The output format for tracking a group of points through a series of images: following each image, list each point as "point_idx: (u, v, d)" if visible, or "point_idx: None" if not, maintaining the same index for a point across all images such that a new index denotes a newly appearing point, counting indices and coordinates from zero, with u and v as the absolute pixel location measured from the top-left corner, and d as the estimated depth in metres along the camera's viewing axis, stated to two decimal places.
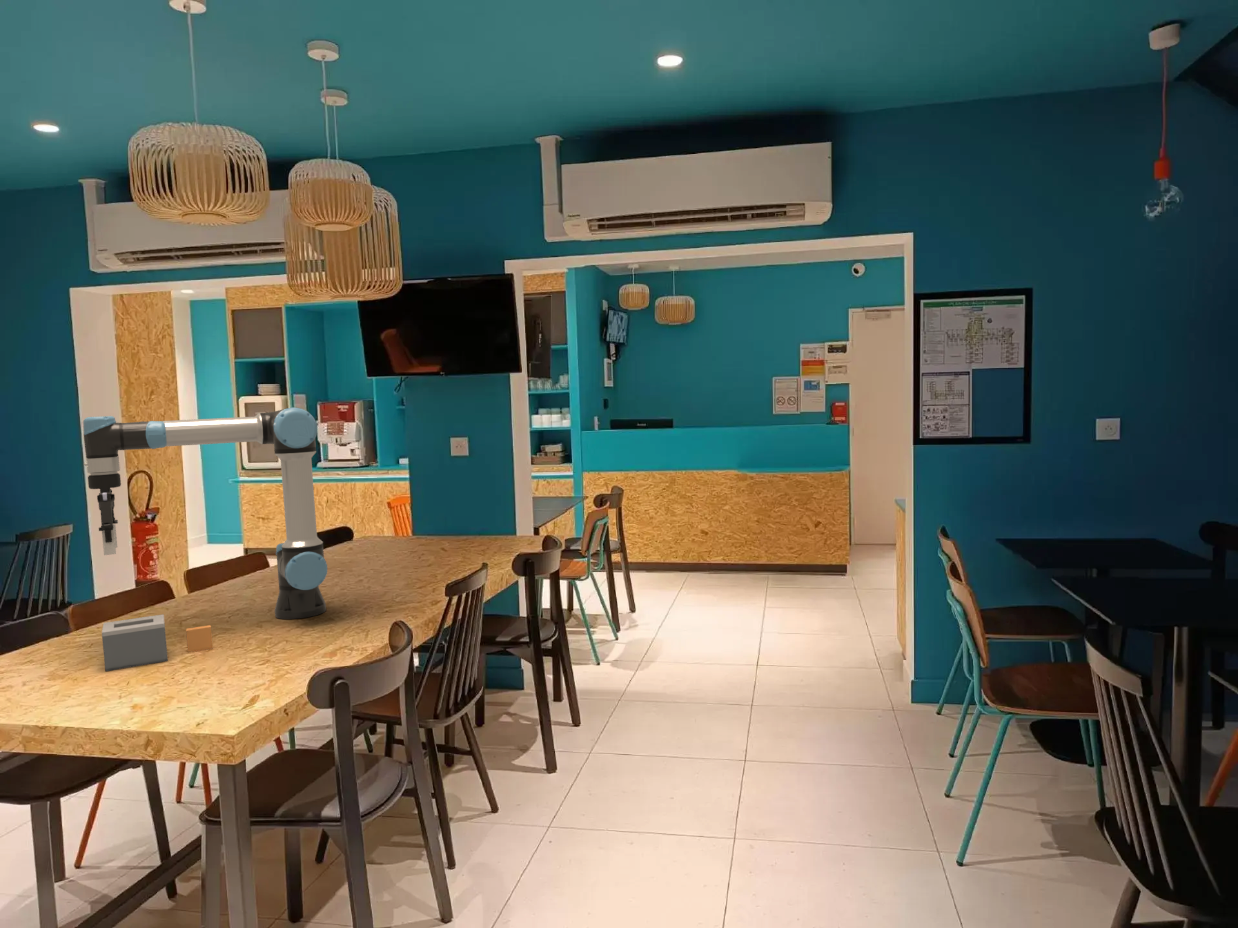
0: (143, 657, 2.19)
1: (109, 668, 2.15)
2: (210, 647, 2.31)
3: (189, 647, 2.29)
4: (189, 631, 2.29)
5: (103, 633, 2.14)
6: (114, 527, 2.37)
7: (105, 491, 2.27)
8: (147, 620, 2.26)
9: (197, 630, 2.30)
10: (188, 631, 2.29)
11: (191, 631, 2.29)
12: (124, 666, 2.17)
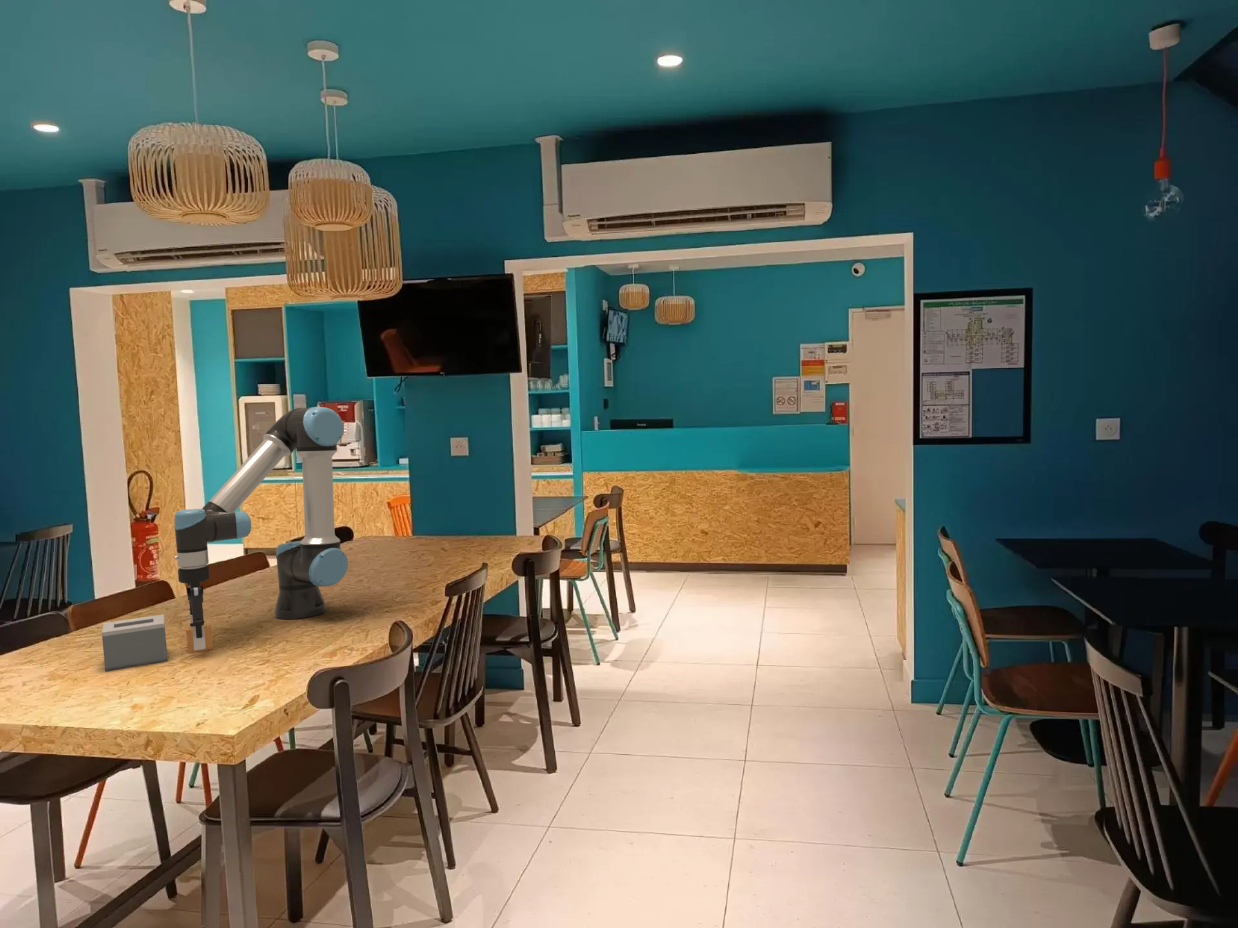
0: (143, 657, 2.19)
1: (109, 668, 2.15)
2: (210, 647, 2.31)
3: (189, 647, 2.29)
4: (189, 631, 2.29)
5: (103, 633, 2.14)
6: None
7: (195, 585, 2.27)
8: (147, 620, 2.26)
9: None
10: (188, 631, 2.29)
11: (191, 631, 2.29)
12: (124, 666, 2.17)
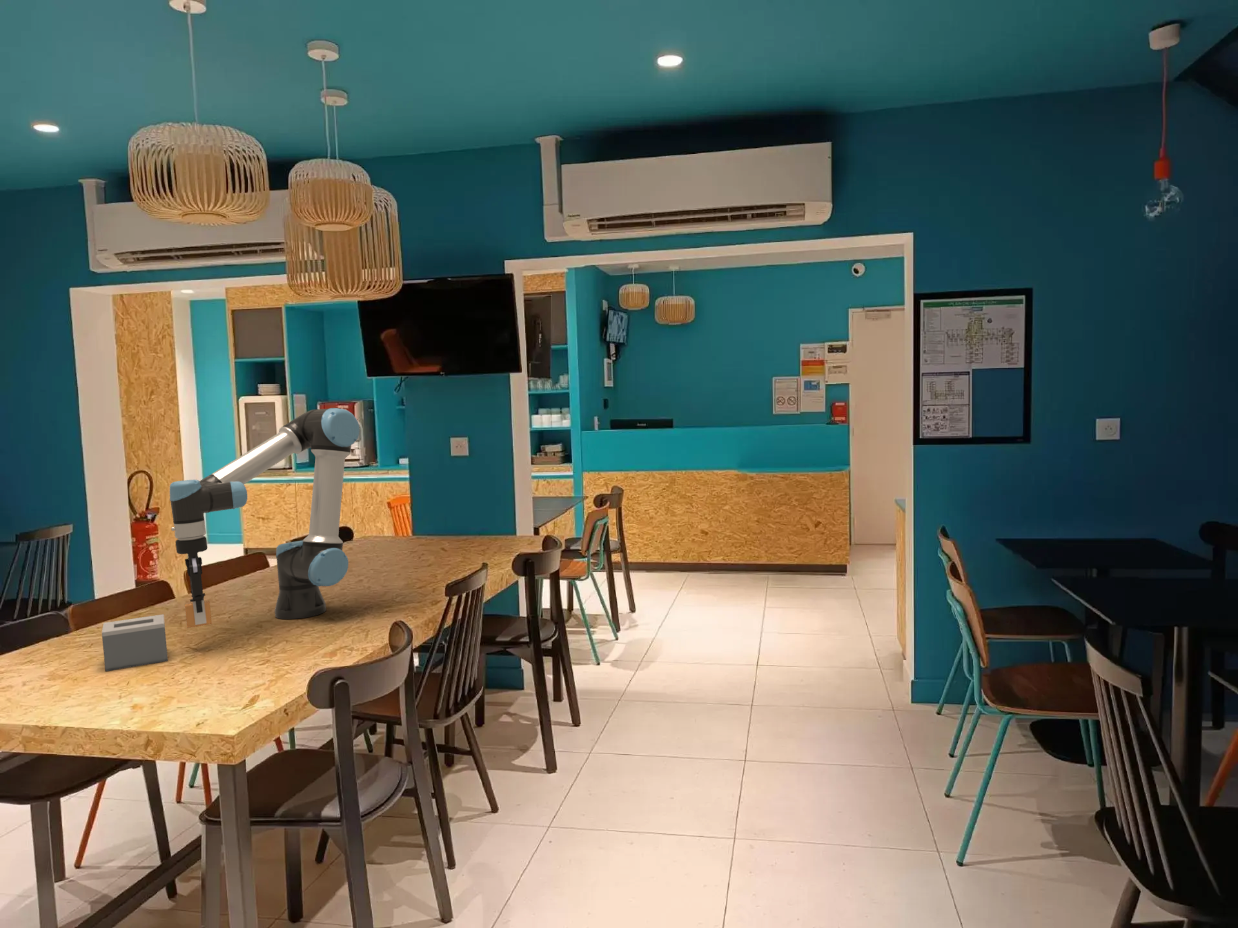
0: (143, 657, 2.19)
1: (109, 668, 2.15)
2: (209, 623, 2.31)
3: (188, 622, 2.29)
4: (188, 606, 2.28)
5: (103, 633, 2.14)
6: None
7: (194, 556, 2.26)
8: (147, 620, 2.26)
9: None
10: (187, 606, 2.28)
11: (190, 606, 2.29)
12: (124, 666, 2.17)
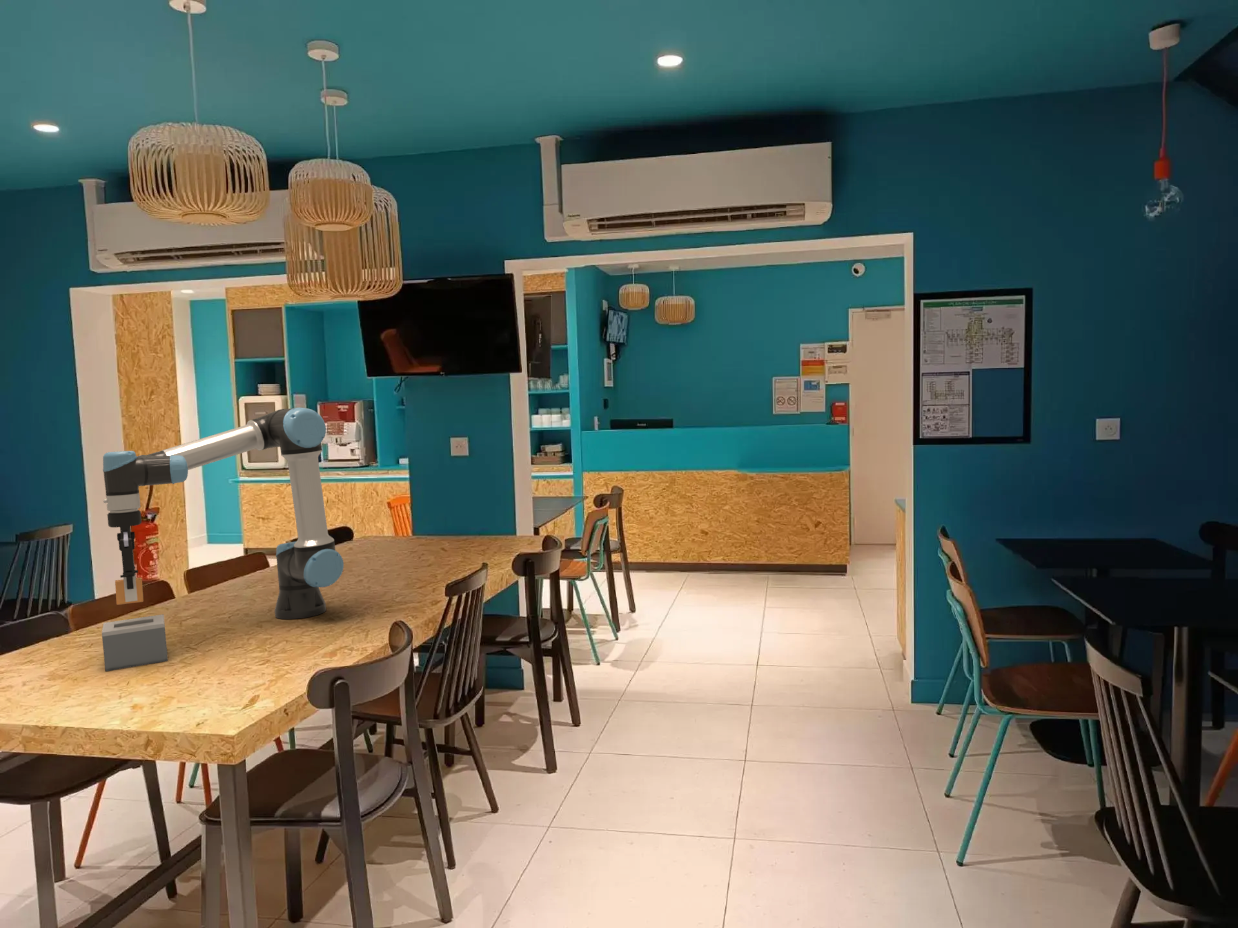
0: (143, 657, 2.19)
1: (109, 668, 2.15)
2: (140, 600, 2.22)
3: (118, 599, 2.19)
4: (118, 582, 2.19)
5: (103, 633, 2.14)
6: (134, 577, 2.23)
7: (125, 529, 2.17)
8: (147, 620, 2.26)
9: None
10: (117, 582, 2.19)
11: (120, 582, 2.19)
12: (124, 666, 2.17)
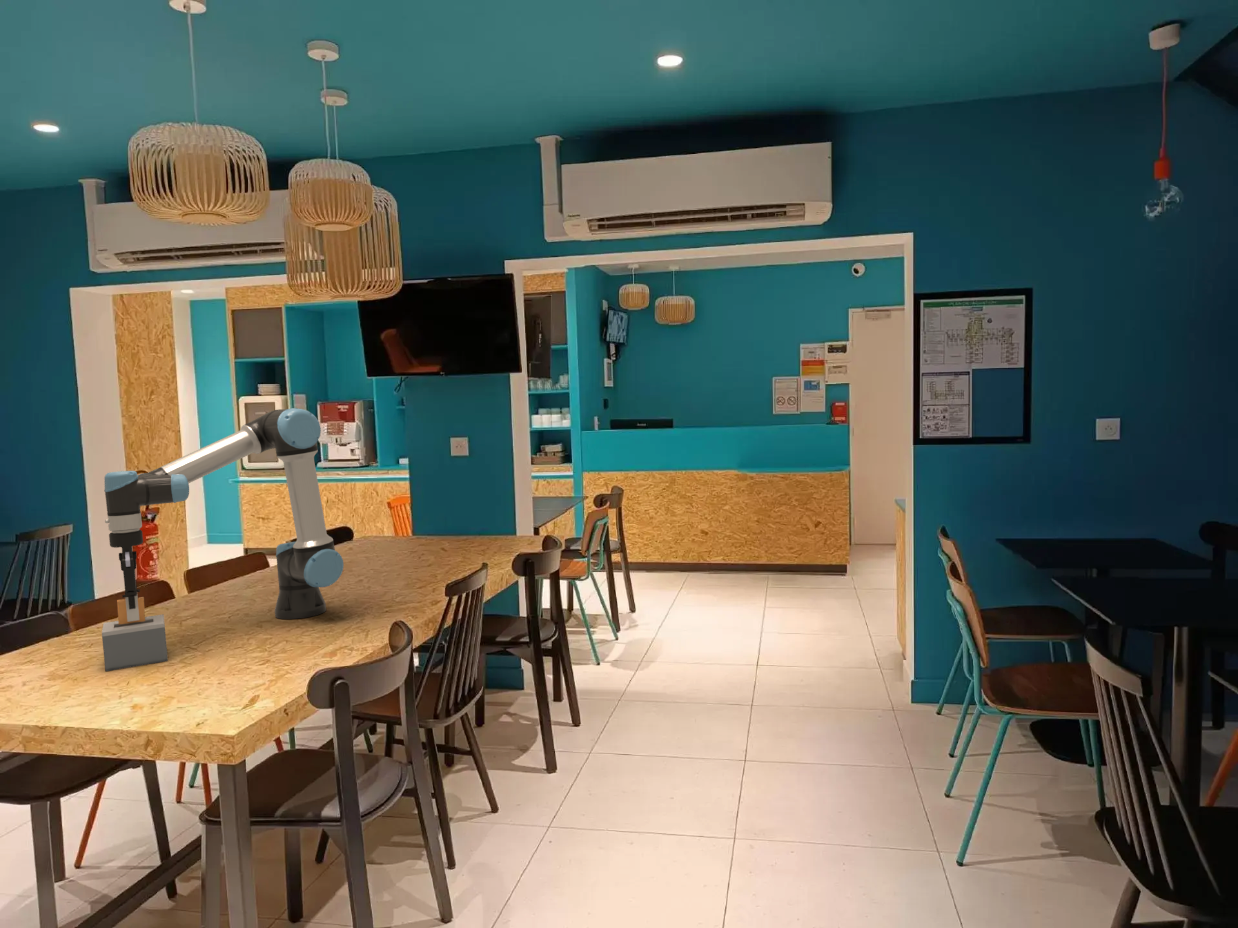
0: (143, 657, 2.19)
1: (109, 668, 2.15)
2: (142, 620, 2.22)
3: (120, 619, 2.20)
4: (120, 602, 2.20)
5: (103, 633, 2.14)
6: (136, 596, 2.24)
7: (127, 550, 2.18)
8: (147, 620, 2.26)
9: None
10: (119, 602, 2.20)
11: (122, 602, 2.20)
12: (124, 666, 2.17)
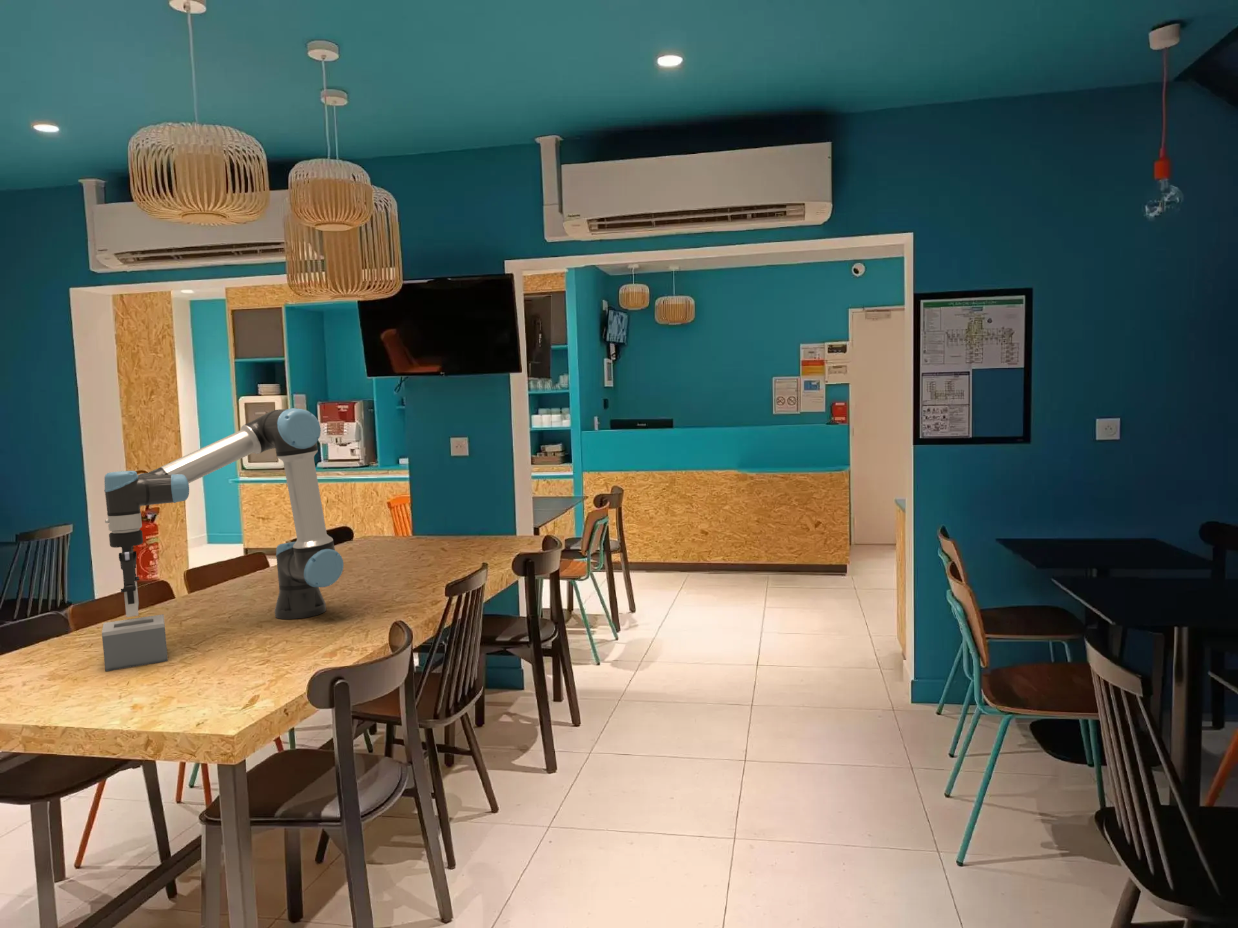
0: (143, 657, 2.19)
1: (109, 668, 2.15)
2: None
3: None
4: None
5: (103, 633, 2.14)
6: (135, 584, 2.28)
7: (127, 550, 2.18)
8: (147, 620, 2.26)
9: None
10: None
11: None
12: (124, 666, 2.17)
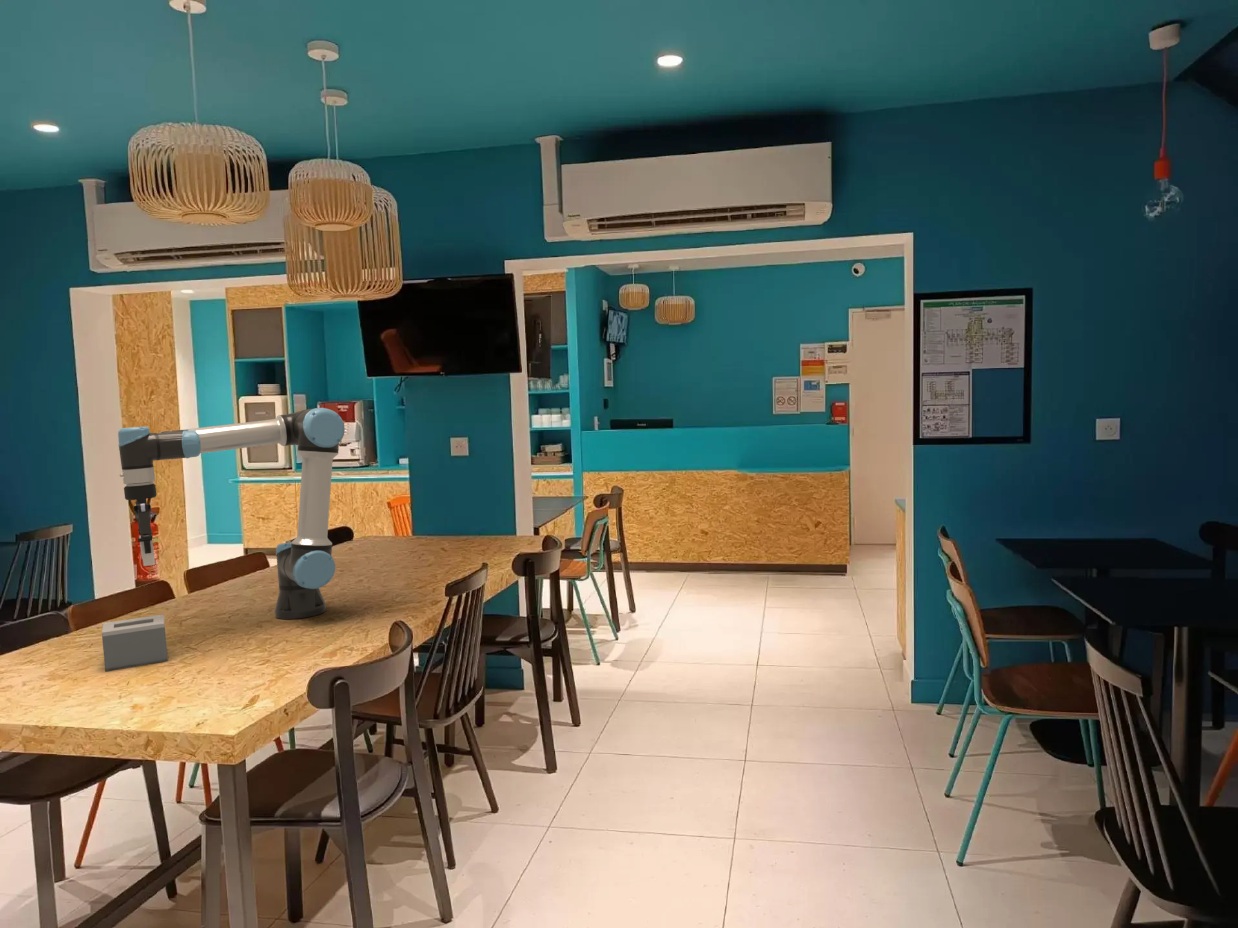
0: (143, 657, 2.19)
1: (109, 668, 2.15)
2: None
3: None
4: None
5: (103, 633, 2.14)
6: None
7: (142, 502, 2.26)
8: (147, 620, 2.26)
9: None
10: None
11: None
12: (124, 666, 2.17)
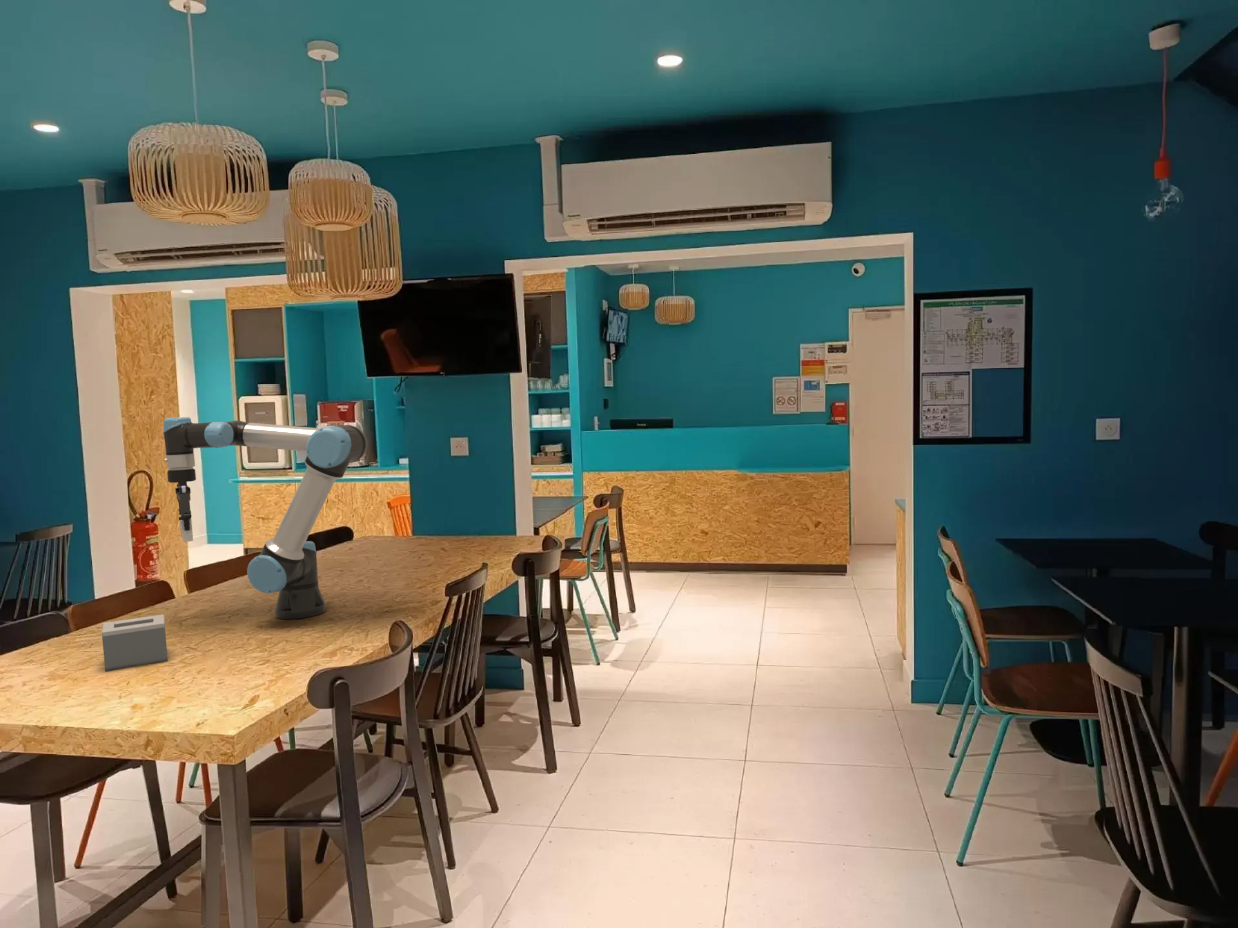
0: (143, 657, 2.19)
1: (109, 668, 2.15)
2: None
3: None
4: None
5: (103, 633, 2.14)
6: None
7: (183, 484, 2.52)
8: (147, 620, 2.26)
9: None
10: None
11: None
12: (124, 666, 2.17)
